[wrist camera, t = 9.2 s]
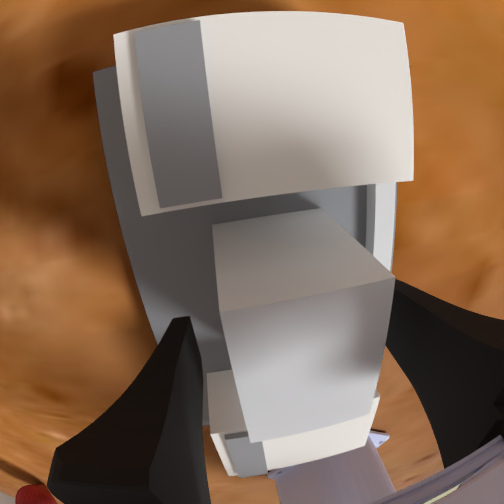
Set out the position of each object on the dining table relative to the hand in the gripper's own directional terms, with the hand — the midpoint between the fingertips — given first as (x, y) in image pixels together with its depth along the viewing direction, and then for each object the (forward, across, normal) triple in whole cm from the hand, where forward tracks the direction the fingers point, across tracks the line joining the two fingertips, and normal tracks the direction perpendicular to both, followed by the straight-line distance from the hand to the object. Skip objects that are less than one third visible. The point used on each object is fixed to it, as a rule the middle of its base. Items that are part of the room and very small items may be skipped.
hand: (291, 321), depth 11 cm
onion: (+4, +30, +26) cm, 40 cm away
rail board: (+4, 0, 0) cm, 4 cm away
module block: (+3, 0, 0) cm, 3 cm away
